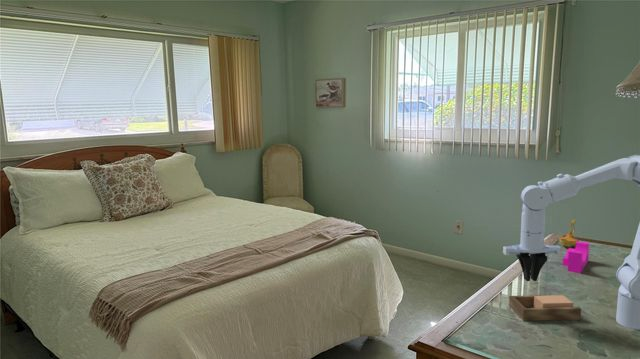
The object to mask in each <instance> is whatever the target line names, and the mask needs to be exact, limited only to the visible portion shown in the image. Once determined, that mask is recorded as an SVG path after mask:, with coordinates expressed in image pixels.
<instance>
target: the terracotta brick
mask: <svg viewBox="0 0 640 359" xmlns="http://www.w3.org/2000/svg"><path fill="white" fill-rule="evenodd" d="M551 295H552V296H534V307H533V308H555V307H574V302H573V301H572V300H570V299H568V297H566V296H565V295H564V296H563V294H551Z"/></svg>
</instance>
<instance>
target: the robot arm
mask: <svg viewBox="0 0 640 359" xmlns="http://www.w3.org/2000/svg"><path fill="white" fill-rule="evenodd" d="M614 179H620V180H625V181H633V182H634V183H636V184H637V185H638V186H639V187H640V154H633V155H630V156H628V157H623V158H619V159H616V160H614V161H611V162H609V163H605V164H603V165H601V166H598V167H595V168H594V169H590V170H588V171H586V172H582V173H580V174H578V175H575V176H574V175H571V174H569V173H567V174H562V173H559V174H557V175H556V177H554V178H552V179H550V180H546V181H538V182H537V184H538V185H534V184H532V185H531V184H530V185H528V186H526V187H524V189H522V191H521V194H520V200H521V202H522V207H521V210H522V211H521V217H520V218H521V220H520V222H521V223H520V239H519V240H520V241H519V242H520V243H519V244H513V245H507V246H503V247H502V248H503V249H502V253H503V254H504V255H505V256H511V255H515V256H516V257H517V260H518V261H519V264H520V267H521V271H522V274H523V279H524V280H525V281H526V282H531V280H532V281H534V282H537V281H538V278H539V275H540V273H541V270H542V268H543V267H544V265H545V264H546V263H547V261H548V256H547V255H548V254H549V255H551V254H552V255H553V254H554V255H562V254H561V252H562V251H561V250H562V247H561V246H560V245H555V244H554V245H553V244H545V234H546V232H545V231H546V208H547V206H548V205H549V204H553V203H556V202H559V201H562V200H565V199H568V198H571V197H574V196H577V195H578V192H580V189H582V188H587V187H590V186H593V185H597V184H600V183H603V182H606V181H610V180H614ZM616 279H617V281H618V282H619V283H620V286H619V288H618V291H617V292H618V293H617V302H616V304H617V305H616V318H615V321H616V323H618V324H619V325H620V326H623V327H625V328H627V329H631V330H636V331H637V330H638V331H640V222H639V224H638V226H637V230H636V234H635V238H634V240H633V243H632V248H631V251H630V254H629V255H627V256H626V257H625V258H624V261H623V263H622V264H621V266H619V267H618V269H617V271H616Z"/></svg>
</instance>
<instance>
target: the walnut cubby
mask: <svg viewBox="0 0 640 359" xmlns="http://www.w3.org/2000/svg"><path fill="white" fill-rule="evenodd" d="M552 295H553V294H543V295H542V294H539V295H536V294H534V295H531V294H530V295H509V296H508V306H509V307H510V308H509V309H511V310H512V311H513V312H514V313H515V314H516V315H517V316H518V317H519V319H521V320H522V321H526V322H527V321H569V320H574V321H575V320H578V321H579V320H581V317H582V308H580V306H573V307H555V308H534V296H552ZM562 295H563V294H562ZM563 296H565V295H563Z"/></svg>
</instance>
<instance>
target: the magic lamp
mask: <svg viewBox="0 0 640 359" xmlns="http://www.w3.org/2000/svg"><path fill="white" fill-rule="evenodd" d="M575 224H576V219H573V220H571V223H570V225H572V228H573V229H572V230H569V231H568V233H567V234H566V236H561V237H559V243H560V244H561V245H563V246H565V248H567V249H569V248H572V247H576V242H577V241H579V242H580V240H579V239H578V238H576V237H574V233H575V228H576V227H575ZM572 249H573V248H572Z"/></svg>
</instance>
